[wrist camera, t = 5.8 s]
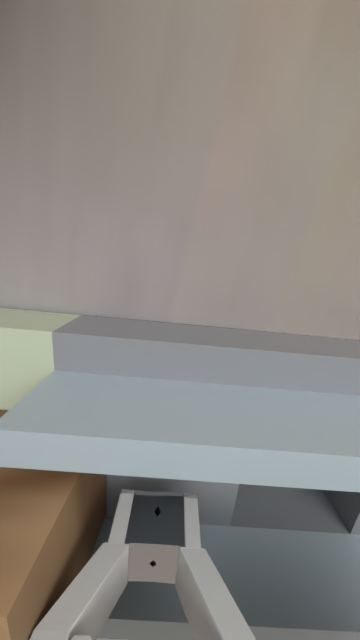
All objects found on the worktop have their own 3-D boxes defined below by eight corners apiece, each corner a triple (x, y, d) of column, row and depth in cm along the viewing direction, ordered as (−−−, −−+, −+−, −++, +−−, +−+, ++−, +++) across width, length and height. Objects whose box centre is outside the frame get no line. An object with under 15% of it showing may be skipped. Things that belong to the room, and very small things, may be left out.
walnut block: (106, 420, 9) (6, 617, 4) (105, 511, 10) (31, 742, 5) (-18, 407, 9) (-267, 587, 4) (-2, 499, 10) (-174, 718, 5)
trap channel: (408, 344, 11) (630, 426, 5) (338, 518, 14) (435, 677, 9) (-93, 299, 10) (-392, 343, 5) (-46, 492, 13) (-194, 646, 8)
